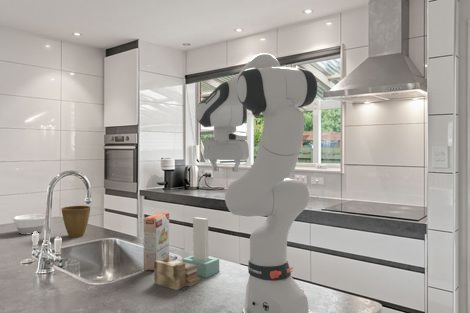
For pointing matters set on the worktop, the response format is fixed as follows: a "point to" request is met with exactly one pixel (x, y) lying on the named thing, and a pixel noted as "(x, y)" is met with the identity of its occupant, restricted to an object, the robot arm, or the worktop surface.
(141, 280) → the worktop surface
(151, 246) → the cracker box
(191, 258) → the teal holder
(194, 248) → the white strip
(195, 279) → the offcut stack
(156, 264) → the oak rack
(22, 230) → the bowl
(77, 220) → the plant pot
